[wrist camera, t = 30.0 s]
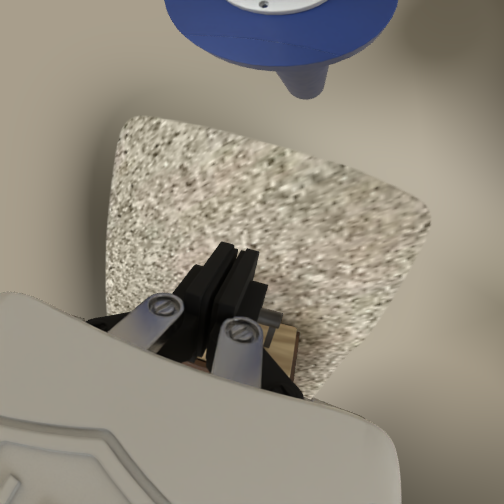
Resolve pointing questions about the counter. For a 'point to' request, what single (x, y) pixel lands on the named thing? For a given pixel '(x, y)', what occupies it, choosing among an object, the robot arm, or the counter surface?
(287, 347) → the drawer
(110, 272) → the counter surface
